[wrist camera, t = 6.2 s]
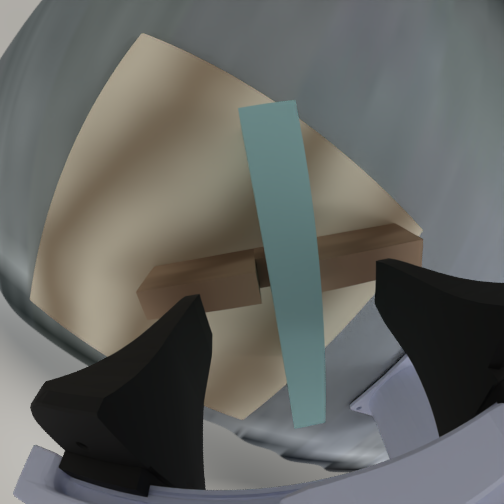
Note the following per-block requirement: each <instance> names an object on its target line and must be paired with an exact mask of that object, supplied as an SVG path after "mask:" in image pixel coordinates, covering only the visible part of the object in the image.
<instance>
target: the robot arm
mask: <svg viewBox="0 0 504 504" xmlns="http://www.w3.org/2000/svg"><path fill="white" fill-rule="evenodd" d="M375 305H376V307H377V309H378V311H379V313H380V315H381V317H382V319H383V321H384V322H385V324H386V325H387V327H388V328H389V330H390V331H391V333H392V334H393V335H394V337H395V338H396V340H397V341H398V343H399V344H400V346H401V347H402V348H403V350H404V351H405V353H406V354H405V355H404V356H403V357H402V358H401V359H400V360H399V361H398V362H397V363H396V364H395V365H394V366H393V367H392V368H391V369H390V370H389V371H388V372H387V373H386V374H385V375H384V376H382V377H381V378H380V379H379V380H378V381H377V382H376V383H375V384H374V385H372V386H371V387H370V388H369V389H368V390H367V391H366V392H364V393H363V394H362V395H361V396H360V397H358V398H357V399H356V400H355V401H353V402H352V403H351V404H350V409H351V410H354V411H357V412H360V413H364V414H367V415H371V416H373V417H374V420H375V422H376V425H377V427H378V430H379V432H380V435H381V437H382V440H383V443H384V445H385V448H386V450H387V453H388V456H389V458H390V460H387V461H384V462H381V463H378V464H376V465H373V466H370V467H366V468H363V469H360V470H357V471H353V472H350V473H346V474H342V475H339V476H334V477H330V478H326V479H321V480H316V481H311V482H306V483H300V484H294V485H288V486H279V487H271V488H260V489H245V490H206V489H205V478H204V465H203V408H204V399H205V393H206V388H207V382H208V376H209V370H210V364H211V358H212V339H213V334H212V331H211V328H210V325H209V322H208V319H207V316H206V313H205V310H204V307H203V303H202V300H201V297H200V294H195V295H189V296H185V297H183V298H182V299H181V300H179V301H178V302H177V303H176V304H175V305H174V306H173V307H172V308H171V309H170V310H168V311H167V312H166V313H165V314H164V315H163V316H162V317H161V318H160V319H159V320H158V321H157V322H155V323H154V324H153V325H152V326H151V327H149V328H148V329H147V330H146V331H145V332H144V333H142V334H141V335H140V336H139V337H137V338H136V339H135V340H133V341H132V342H130V343H129V344H128V345H126V346H125V347H123V348H122V349H120V350H119V351H117V352H115V353H113V354H112V355H110V356H108V357H106V358H104V359H103V360H101V361H99V362H97V363H95V364H93V365H91V366H89V367H86V368H84V369H82V370H79V371H77V372H74V373H71V374H69V375H65V376H63V377H60V378H56V379H53V380H49V381H46V382H45V383H44V384H43V386H42V387H41V389H40V391H39V392H38V394H37V395H36V397H35V399H34V400H33V402H32V403H31V407H30V408H31V411H32V415H33V417H34V418H35V420H36V421H37V423H38V424H39V425H40V426H41V427H42V428H43V430H45V432H47V434H48V435H50V437H52V439H54V441H56V442H57V443H58V444H59V445H60V446H61V447H62V448H63V449H64V450H65V452H64V455H63V457H62V456H60V455H58V454H57V453H55V452H52V451H50V450H47V449H45V448H42V447H40V446H37V445H34V446H33V448H32V450H31V452H30V455H29V457H28V459H27V461H26V463H25V465H24V468H23V470H22V472H21V475H20V477H19V479H18V482H17V484H16V487H15V489H14V492H13V494H14V496H15V497H16V498H18V499H19V500H21V501H22V502H24V503H25V504H504V283H493V282H482V281H474V280H469V279H463V278H458V277H454V276H450V275H446V274H442V273H439V272H435V271H432V270H429V269H426V268H422V267H419V266H416V265H413V264H410V263H407V262H403V261H400V260H396V259H391V258H387V259H382V260H378V261H376V284H375Z"/></svg>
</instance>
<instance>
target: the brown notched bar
mask: <svg viewBox="0 0 504 504" xmlns="http://www.w3.org/2000/svg"><path fill="white" fill-rule="evenodd" d="M317 245H318V255H319V266H320V277H321V290H322V292H325V291H330V290H335V289H340V288H344V287H349V286H353V285H358V284H362V283H366V282H371V281H375V280H376V261H378V260H382V259H387V258H391V259H396V260H400V261H403V262H407V263H410V264H413V265H416V266H419V267H421V265H422V250H423V239H422V238H420V237H418V236H417V235H415V234H413V233H411V232H410V231H408V230H406V229H405V228H403V227H401V226H399V225H397V224H396V223H392V224H387V225H381V226H375V227H370V228H364V229H359V230H353V231H347V232H342V233H336V234H331V235H325V236H319V237H317ZM269 286H270V280H269V275H268V269H267V263H266V258H265V252H264V247H258V248H253V249H247V250H242V251H236V252H231V253H225V254H220V255H215V256H209V257H204V258H198V259H193V260H187V261H182V262H176V263H171V264H166V265H160V266H155V267H153V269H152V270H151V271H150V273H149V274H148V276H147V277H146V278H145V280H144V281H143V283H142V284H141V285H140V287H139V288H138V290H137V291H136V294H137V296H138V299H139V301H140V304H141V306H142V309H143V311H144V314H145V316H146V318H147V320H151V319H160V318H161V317H162V316H163V315H164V314H165V313H166V312H167V311H168V310H170V309H171V308H172V307H173V306H174V305H175V304H176V303H177V302H178V301H179V300H181V299H182V298H183V297H185V296H189V295H195V294H200V297H201V300H202V303H203V307H204V310H205V313H206V312H213V311H220V310H226V309H233V308H239V307H245V306H251V305H257V304H262V300H261V291H260V288H264V287H269Z"/></svg>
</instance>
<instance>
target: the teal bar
mask: <svg viewBox="0 0 504 504" xmlns="http://www.w3.org/2000/svg"><path fill="white" fill-rule="evenodd" d="M238 111H239V118H240V124H241V130H242V135H243V140H244V146H245V151H246V156H247V161H248V166H249V172H250V177H251V182H252V188H253V193H254V198H255V204H256V209H257V214H258V220H259V225H260V231H261V236H262V241H263V247H264V252H265V258H266V263H267V269H268V275H269V280H270V287H271V292H272V298H273V304H274V310H275V315H276V321H277V327H278V333H279V339H280V345H281V351H282V357H283V363H284V368H285V374H286V380H287V386H288V392H289V398H290V404H291V410H292V416H293V422H294V429H296V428H301V427H306V426H311V425H316V424H321V423H325V407H326V384H325V343H324V321H323V304H322V290H321V277H320V266H319V255H318V245H317V236H316V227H315V218H314V210H313V203H312V195H311V188H310V181H309V174H308V168H307V162H306V155H305V149H304V144H303V138H302V132H301V127H300V122H299V116H298V111H297V106H296V101H295V100H290V101H281V102H273V103H266V104H259V105H253V106H247V107H241V108H238Z"/></svg>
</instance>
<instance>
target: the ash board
mask: <svg viewBox="0 0 504 504" xmlns="http://www.w3.org/2000/svg"><path fill="white" fill-rule="evenodd" d="M273 102H274V101H273V100H271V99H270V98H268V97H267V96H265V95H263V94H262V93H260V92H259V91H257V90H255V89H254V88H252V87H251V86H249V85H247V84H246V83H244V82H242V81H241V80H239V79H237V78H235V77H234V76H232V75H230V74H228V73H227V72H225V71H223V70H221V69H219V68H218V67H216V66H214V65H212V64H210V63H208V62H206V61H204V60H202V59H200V58H198V57H196V56H194V55H192V54H190V53H188V52H186V51H184V50H182V49H179V48H177V47H175V46H173V45H171V44H168V43H166V42H164V41H161V40H159V39H156V38H154V37H152V36H149V35H146V34H144V33H142V34H141V35H140V36H139V37H138V39H137V40H136V41H135V43H134V44H133V45H132V47H131V48H130V49H129V51H128V52H127V53H126V55H125V56H124V58H123V59H122V60H121V62H120V63H119V65H118V66H117V68H116V69H115V71H114V72H113V74H112V75H111V77H110V78H109V80H108V82H107V83H106V85H105V86H104V88H103V90H102V91H101V93H100V95H99V96H98V98H97V100H96V102H95V103H94V105H93V107H92V109H91V111H90V113H89V114H88V116H87V118H86V120H85V122H84V124H83V126H82V128H81V130H80V132H79V134H78V136H77V138H76V141H75V143H74V145H73V147H72V149H71V152H70V154H69V156H68V159H67V161H66V164H65V166H64V169H63V171H62V174H61V176H60V179H59V182H58V184H57V187H56V190H55V193H54V196H53V199H52V202H51V205H50V208H49V212H48V215H47V219H46V222H45V226H44V229H43V233H42V237H41V241H40V246H39V250H38V255H37V260H36V265H35V270H34V276H33V282H32V288H31V296H30V300H31V301H32V302H33V303H34V304H36V305H37V306H38V307H39V308H40V309H42V310H43V311H44V312H45V313H46V314H48V315H49V316H50V317H51V318H53V319H54V320H55V321H57V322H58V323H59V324H61V325H62V326H63V327H65V328H66V329H67V330H69V331H70V332H71V333H73V334H74V335H76V336H77V337H79V338H80V339H81V340H83V341H84V342H86V343H87V344H89V345H90V346H92V347H93V348H95V349H96V350H98V351H99V352H101V353H103V354H104V355H106V356H107V357H108V356H110V355H112V354H113V353H115V352H117V351H119V350H120V349H122V348H123V347H125V346H126V345H128V344H129V343H130V342H132V341H133V340H135V339H136V338H137V337H139V336H140V335H141V334H142V333H144V332H145V331H146V330H147V329H148V328H149V327H151V326H152V325H153V324H154V323H155V322H157V321H158V320H159V319H151V320H147V318H146V316H145V314H144V311H143V309H142V306H141V304H140V301H139V299H138V296H137V294H136V291H137V290H138V288H139V287H140V285H141V284H142V283H143V281H144V280H145V278H146V277H147V276H148V274H149V273H150V271H151V270H152V269H153V267H155V266H160V265H166V264H171V263H176V262H182V261H187V260H193V259H198V258H204V257H209V256H215V255H220V254H225V253H231V252H236V251H242V250H247V249H253V248H258V247H263V241H262V236H261V231H260V225H259V220H258V214H257V209H256V204H255V198H254V193H253V188H252V182H251V177H250V172H249V166H248V161H247V156H246V151H245V146H244V140H243V135H242V130H241V124H240V118H239V111H238V108H241V107H247V106H253V105H259V104H266V103H273ZM299 122H300V127H301V132H302V138H303V144H304V149H305V155H306V162H307V168H308V174H309V181H310V188H311V195H312V203H313V210H314V218H315V227H316V236H317V237H319V236H325V235H331V234H336V233H342V232H347V231H353V230H359V229H364V228H370V227H375V226H381V225H387V224H392V223H396V224H397V225H399V226H401V227H403V228H405V229H406V230H408V231H410V232H411V233H413V234H415V235H417V236H418V237H419V236H420V234H421V233H422V231H423V230H422V229H421V228H420V226H419V225H418V224H417V223H416V222H415V221H414V220H413V219H412V218H411V217H410V216H409V215H408V214H407V212H406V211H405V210H404V209H403V208H402V207H401V206H400V205H399V204H398V203H397V202H396V201H395V200H394V199H393V198H392V197H391V196H390V195H389V194H388V193H387V192H386V191H385V190H384V189H383V188H382V187H381V186H380V185H378V184H377V183H376V182H375V181H374V180H373V179H372V178H371V177H370V176H369V175H368V174H367V173H365V172H364V171H363V170H362V169H361V168H360V167H359V166H358V165H357V164H355V163H354V162H353V161H352V160H351V159H350V158H348V157H347V156H346V155H345V154H344V153H342V152H341V151H340V150H339V149H338V148H336V147H335V146H334V145H333V144H332V143H330V142H329V141H328V140H327V139H325V138H324V137H323V136H321V135H320V134H319V133H318V132H316V131H315V130H314V129H312V128H311V127H310V126H308V125H307V124H306V123H304V122H303V121H301V120H300V119H299ZM375 284H376V280H375V281H371V282H366V283H362V284H358V285H353V286H349V287H344V288H340V289H335V290H330V291H325V292H322V304H323V321H324V343H325V347H326V346H327V345H328V344H329V343H330V342H331V341H332V340H333V339H334V338H335V337H336V336H337V335H338V334H339V333H340V332H341V331H342V330H343V329H344V328H345V327H346V325H347V324H348V323H349V322H350V321H351V320H352V319H353V318H354V317H355V316H356V315H357V313H358V312H359V311H360V310H361V309H362V308H363V307H364V306H365V304H366V303H367V302H368V301H369V300H370V299H371V297H372V296H373V295H374V294H375ZM260 291H261V300H262V304H257V305H251V306H245V307H239V308H233V309H226V310H220V311H213V312H206V316H207V319H208V322H209V325H210V328H211V331H212V334H213V339H212V358H211V364H210V370H209V376H208V382H207V388H206V393H205V399H204V406H206V407H208V408H211V409H213V410H216V411H219V412H221V413H224V414H227V415H229V416H232V417H235V418H238V419H241V420H243V419H245V418H246V417H247V416H248V415H250V414H251V413H252V412H254V411H255V410H256V409H257V408H259V407H260V406H261V405H262V404H263V403H265V402H266V401H267V400H268V399H269V398H271V397H272V396H273V395H274V394H275V393H277V392H278V391H279V390H280V389H281V388H282V387H284V386H285V385H286V384H287V380H286V374H285V368H284V363H283V357H282V351H281V345H280V339H279V333H278V327H277V321H276V315H275V310H274V304H273V298H272V292H271V287H270V286H269V287H264V288H260Z"/></svg>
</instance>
